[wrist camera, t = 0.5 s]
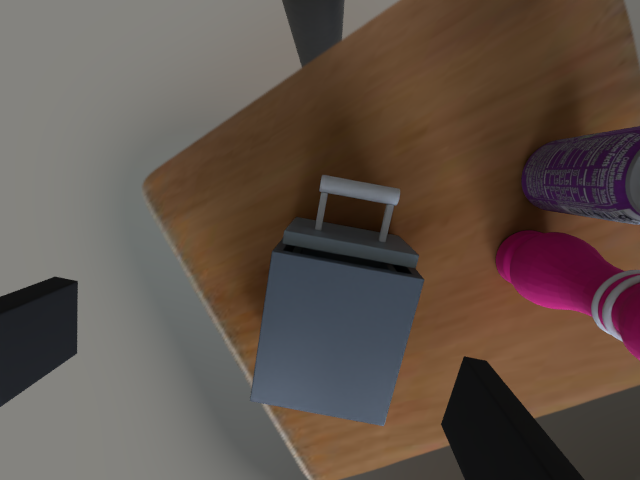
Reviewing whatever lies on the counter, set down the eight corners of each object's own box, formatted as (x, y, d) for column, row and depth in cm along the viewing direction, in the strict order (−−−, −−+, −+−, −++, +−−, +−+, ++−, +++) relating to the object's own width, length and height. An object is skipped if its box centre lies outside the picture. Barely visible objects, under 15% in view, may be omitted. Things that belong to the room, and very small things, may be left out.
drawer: (303, 170, 31) (293, 169, 24) (410, 190, 31) (435, 195, 24) (277, 327, 35) (262, 370, 28) (372, 345, 35) (383, 392, 28)
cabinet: (289, 229, 34) (272, 251, 24) (399, 249, 33) (424, 279, 24) (271, 343, 37) (249, 401, 27) (371, 361, 37) (384, 426, 27)
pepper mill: (482, 239, 33) (689, 331, 13) (549, 215, 32) (880, 276, 12) (500, 297, 34) (714, 457, 15) (566, 275, 33) (890, 417, 14)
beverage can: (596, 194, 31) (751, 205, 19) (527, 219, 32) (634, 244, 20) (580, 128, 30) (734, 97, 18) (509, 157, 31) (611, 145, 19)
